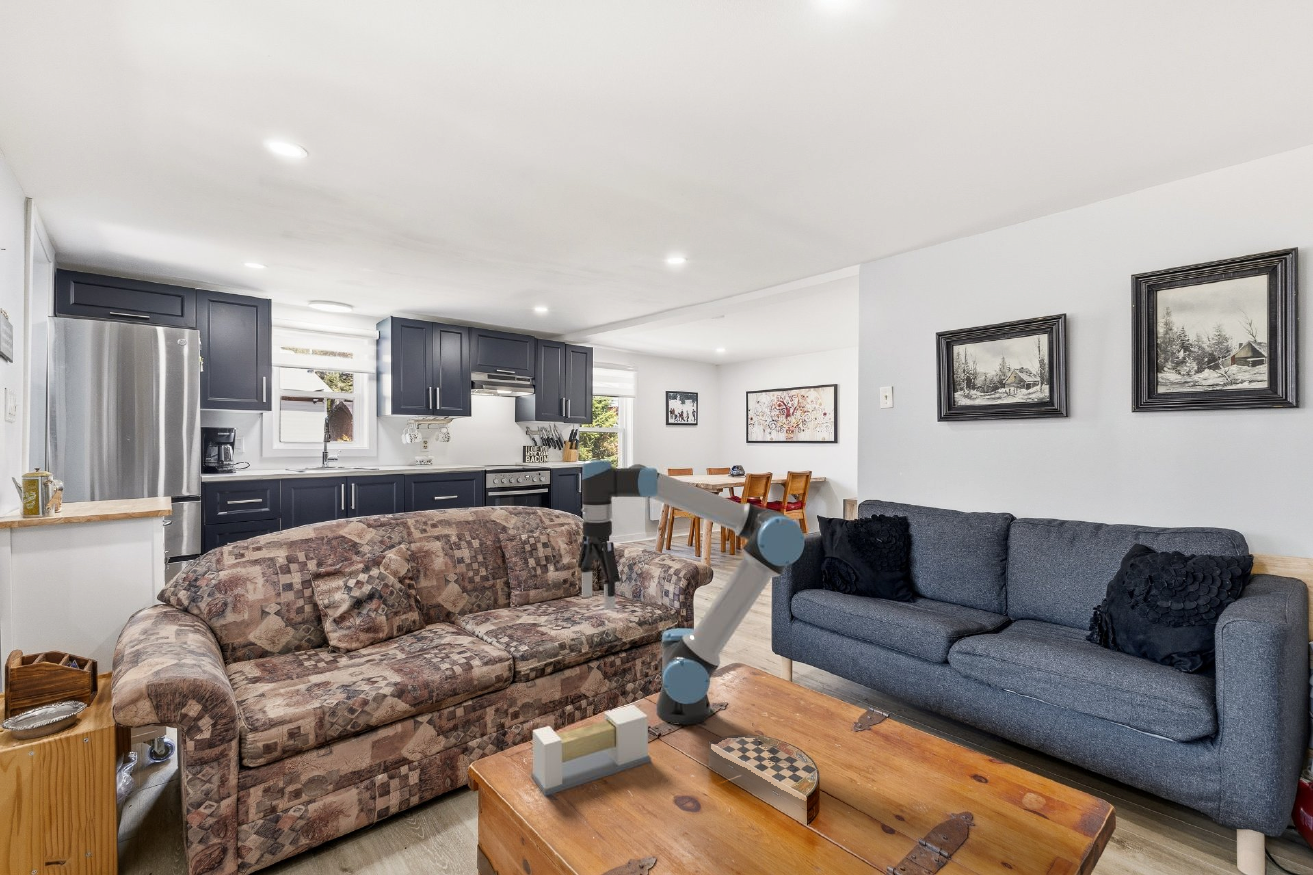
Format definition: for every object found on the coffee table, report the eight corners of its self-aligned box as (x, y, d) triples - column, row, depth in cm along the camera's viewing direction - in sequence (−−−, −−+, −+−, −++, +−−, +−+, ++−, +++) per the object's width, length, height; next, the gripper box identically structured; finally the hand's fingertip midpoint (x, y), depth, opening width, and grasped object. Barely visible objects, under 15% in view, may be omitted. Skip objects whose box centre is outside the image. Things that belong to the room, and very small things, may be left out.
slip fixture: (632, 744, 154) (632, 702, 154) (650, 761, 146) (650, 716, 146) (531, 775, 140) (530, 729, 140) (545, 795, 132) (544, 746, 132)
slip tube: (611, 737, 148) (611, 718, 148) (620, 745, 144) (619, 726, 144) (540, 758, 139) (540, 738, 139) (547, 767, 135) (547, 747, 135)
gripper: (565, 515, 167) (565, 593, 167) (605, 527, 145) (606, 617, 145) (590, 513, 170) (591, 589, 171) (633, 525, 149) (633, 612, 149)
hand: (598, 602), depth 158 cm, fingers open, 13 cm apart
